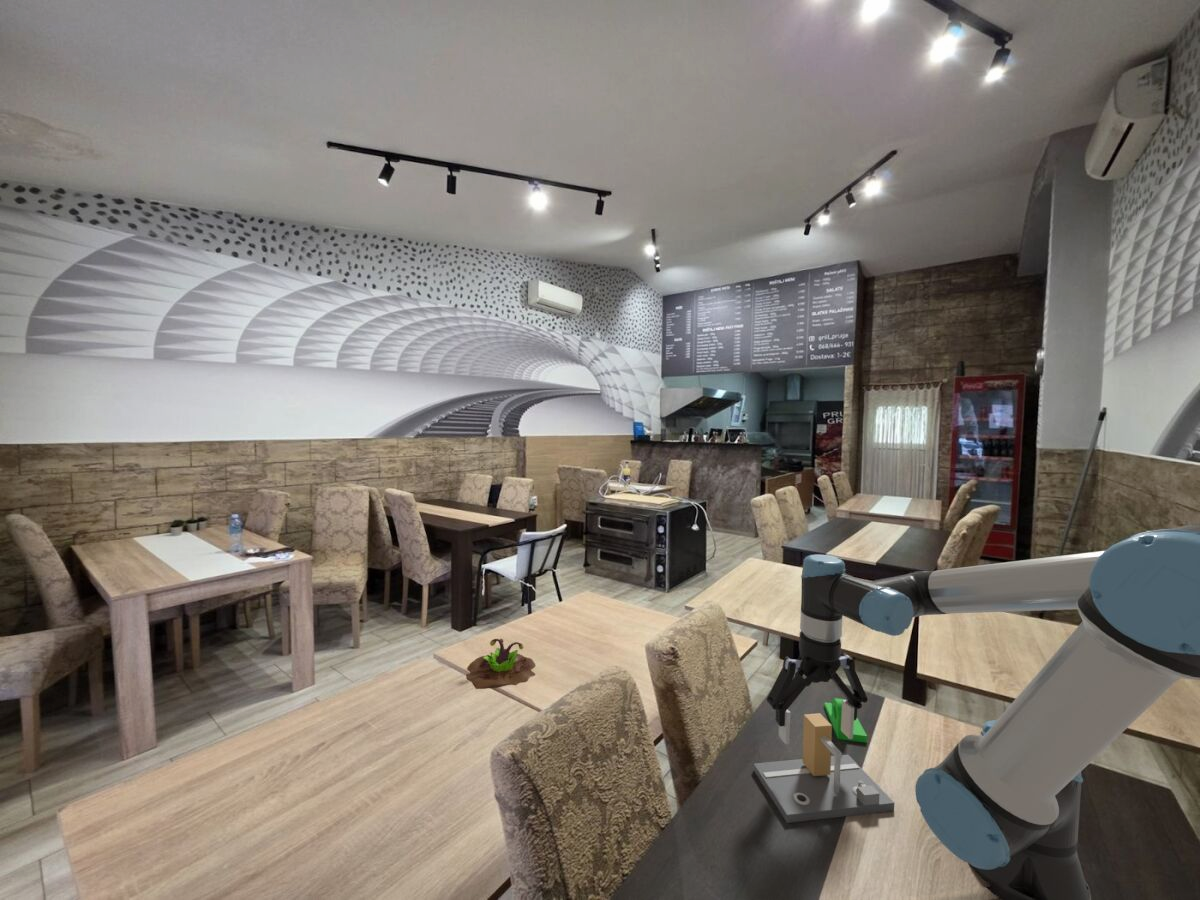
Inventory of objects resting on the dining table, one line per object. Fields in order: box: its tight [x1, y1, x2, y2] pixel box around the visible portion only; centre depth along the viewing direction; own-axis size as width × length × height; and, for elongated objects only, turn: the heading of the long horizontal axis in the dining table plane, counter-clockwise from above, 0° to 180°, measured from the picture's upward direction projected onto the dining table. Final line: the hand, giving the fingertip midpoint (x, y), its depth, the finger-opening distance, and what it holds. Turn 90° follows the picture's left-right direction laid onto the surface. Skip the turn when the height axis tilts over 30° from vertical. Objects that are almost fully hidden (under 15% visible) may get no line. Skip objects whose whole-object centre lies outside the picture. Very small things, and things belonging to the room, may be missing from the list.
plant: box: [466, 638, 536, 690], centre depth 134 cm, size 20×20×11 cm
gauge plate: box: [753, 754, 895, 824], centre depth 93 cm, size 13×21×4 cm, turn 98°
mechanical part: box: [823, 697, 868, 743], centre depth 113 cm, size 12×6×8 cm, turn 168°
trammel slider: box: [802, 712, 843, 793], centre depth 93 cm, size 9×4×10 cm, turn 8°
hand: (815, 737), depth 96 cm, fingers open, 13 cm apart
